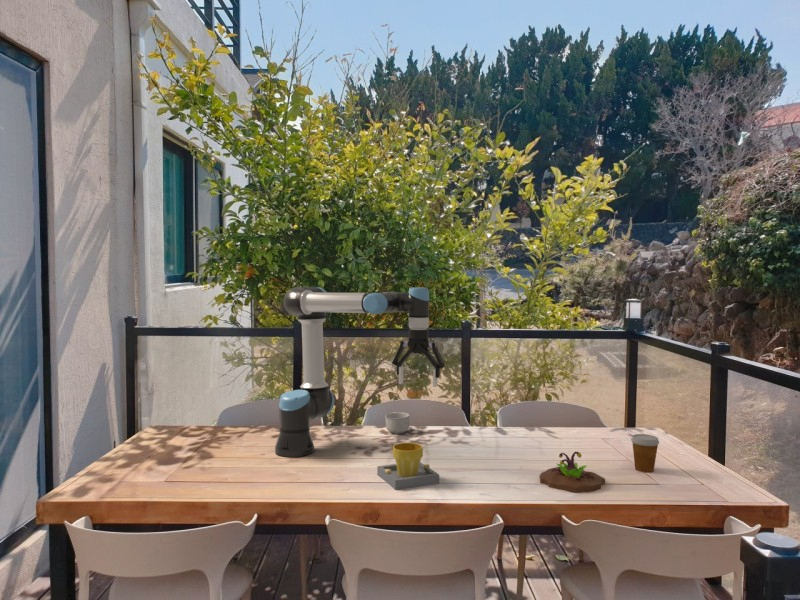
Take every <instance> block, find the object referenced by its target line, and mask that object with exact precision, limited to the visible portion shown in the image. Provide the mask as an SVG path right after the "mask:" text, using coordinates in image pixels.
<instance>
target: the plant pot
mask: <svg viewBox="0 0 800 600" xmlns="http://www.w3.org/2000/svg"><path fill="white" fill-rule="evenodd" d="M423 456H424V446H423V445H422V444H420V443H416V442H400V443H399V442H398V443H395V444H393V446H392V457H393V458H394V459H395V460H394V461H395V464H396V465H397V470H398V475H399V476H401V477H413V476H417V474H418V470H419V465H420V462H421V460H422V458H423Z"/></svg>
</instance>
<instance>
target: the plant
mask: <svg viewBox="0 0 800 600" xmlns="http://www.w3.org/2000/svg"><path fill="white" fill-rule="evenodd" d="M563 455H564V456H563ZM576 456H577V458H582V453H581V452H579V451H574V452H573V453H572V455H571V457H569V456H568V454H566V453H565V452H560V453H559V454H558V457H559V458H563V457H565V458H564V459H562V460H560V461H559V463H556V465H557V466H556V467H550V468H548V469H547V470H545V471H543V472H541V473H540V475H539V483H540V484H541V485H545V486H548V487H549V488H551V489H556V490H559V491H564V492H569V493H574V494H582V493H592V492H595V491H599V490H601V489H602V486H604V485H606V478H605V477H603V476H601V475H599V474H597V473H596V472H594V471H587V470H585V468H587V465H581V466H580V467H578V466H579V465H578V462H575V457H576ZM565 462H566V463H565Z"/></svg>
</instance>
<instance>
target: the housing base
mask: <svg viewBox="0 0 800 600" xmlns="http://www.w3.org/2000/svg"><path fill="white" fill-rule="evenodd" d="M376 467H377V469H376V470H377V472H376V473H377V474H376V475H377V476H378V477H379V478H380V479H382V480H383V481H384V482H385V483H387V484H388V485H389V486H390V487H392V488H393V490H402V489H408V488H409V489H410V488H417V487H423V486H430V485H436V484H437V485H438V484H440V473H438V472H436V471H435V470H433V469H431V468H430V464H429V463H425V464H424V463H422V462H421V461H420V465H419V470H418V474H417V476H413V477H401V476H399V475H398V470H397V465H396V463H393V464H385V465H377V466H376Z"/></svg>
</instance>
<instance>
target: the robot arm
mask: <svg viewBox="0 0 800 600" xmlns="http://www.w3.org/2000/svg"><path fill="white" fill-rule="evenodd" d="M429 292H430V290H429V288H427V287H410V288H409V289H408V292H403V291H401V292H399V291H384V292H328V291H326V290H325V289H324V288H323V287H320V286H319V287H318V286H298V287H297V286H296V287H292V288H290V289H289V290H287V292H286V293H285V295H284V297H283V307H284V309H285V311H286V312H287V313H289V314H290V315H291V316H294V317H297V321H298V322H299V323H300V324H301V339H302V340H301V343H302V344H301V345H302V371H303V372H302V373H303V382H302V384H301V385H299V387H300V389H294V390H289V391H288V390H287V391H286V392H283V393H282V394H281V395H280V398H279V405H278V408H279V434H278V437H277V438H276V439H277V440H276V443H275V446H274V454H276V455H277V456H281V457H286V458H287V457H288V458H296V457H297V458H298V457H305V456H308V455H312V453H314V451H315V445H314V441H313V438H312V434H311V432H310V431H311V430H310V428H311V427H310V421H313V420H316V419H321V418H323V417H325V416H326V415H328V414H329V413H330V412H331V411H333V408H334V406H335V405H334V404H335V396H334V394H333V392H332V391H331V389H329V388H330V387H329V384H328V382H326V379H325V356H324V355H325V354H324V353H325V352H324V329H323V328H324V326H323V325H324V322H325V321H326V320H327V313H338V314H339V313H341V314H343V313H347V314H349V313H351V314H371V315H380V314H387V313H388V314H389V313H408V328H409V329H408V339H407V341H406V340H400V343H399V347H398V349H397V351H396V353H395V356H394V358H393V360H392V362H391V364H392V365H393V366H395V367H396V375H397V376H398V385H402V384H404V366H403V364H404V362H406V361H407V360H408V358H409V357H410V356H411V355H412V354H420V355H422V354H423V355H424V356H425V357H426V358H427V359H428V360H429V362H430V363H431V365H432V366H433V367H434V369H433V370H432V372H433V373H432V387H433V388H436V387H438V379H439V378H440V376H441V374H440V373H441V369H444V368H445V367H446V364H445V361H444V360H443V358H442V356H441V353H440V352H439V351H440V350H439V349H438V344H437V342H436V341H434V342H429V335H430V334H429V333H430V331H429V327H430V325H429V324H430V323H429V322H430V321H429V319H430V316H429V315H430V314H429V313H430V312H429V311H430V293H429ZM407 346H408V350H406V352H405V353H404V355H403V356H402V354H403V352H404V350H405V347H407ZM429 347H430V349H431V350H432V352H433V354H434V356H435V357H434V356H433V355H432V354H431V351H430V350H429ZM401 356H402V357H401Z"/></svg>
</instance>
